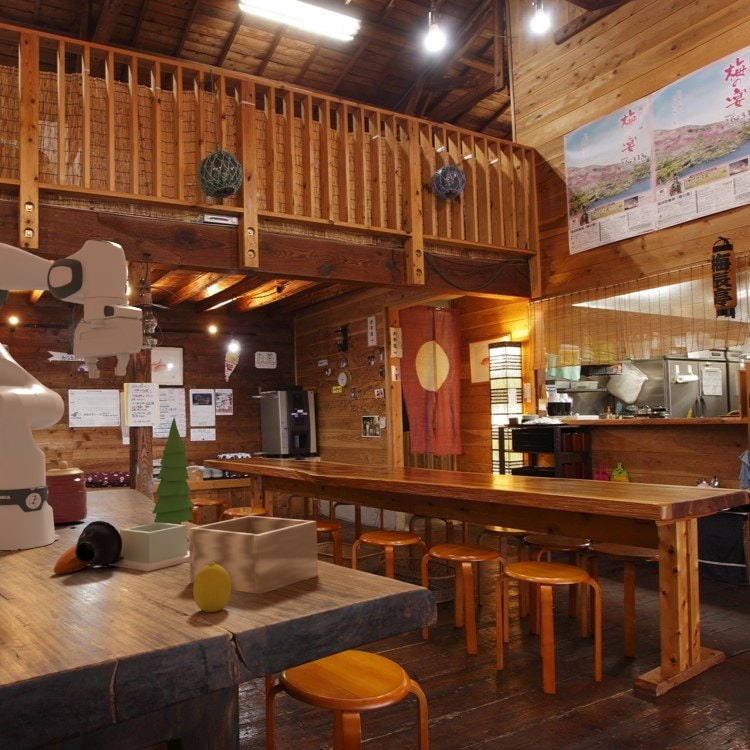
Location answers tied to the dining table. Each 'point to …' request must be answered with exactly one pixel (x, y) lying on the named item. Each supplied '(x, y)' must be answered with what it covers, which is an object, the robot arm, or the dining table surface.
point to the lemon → (212, 588)
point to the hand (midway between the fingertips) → (107, 376)
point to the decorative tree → (173, 483)
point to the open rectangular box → (153, 546)
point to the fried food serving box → (257, 551)
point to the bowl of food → (99, 544)
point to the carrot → (69, 562)
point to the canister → (67, 493)
